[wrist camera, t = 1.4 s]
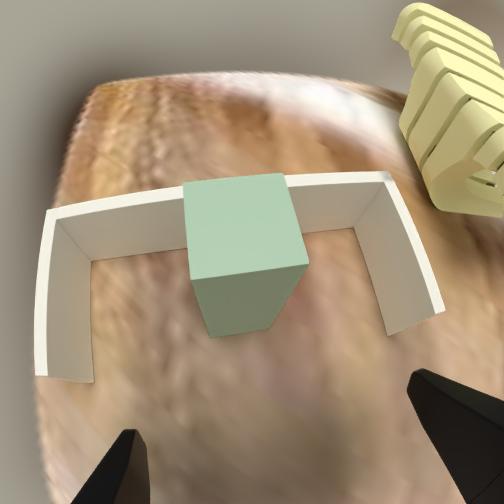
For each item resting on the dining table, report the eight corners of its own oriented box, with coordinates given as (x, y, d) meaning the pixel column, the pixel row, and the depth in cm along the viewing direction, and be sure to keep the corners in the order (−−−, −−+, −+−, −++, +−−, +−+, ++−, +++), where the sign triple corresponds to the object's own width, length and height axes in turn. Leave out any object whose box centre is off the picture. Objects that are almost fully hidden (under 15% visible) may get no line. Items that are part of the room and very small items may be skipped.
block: (268, 329, 23) (309, 263, 12) (210, 338, 22) (190, 280, 11) (258, 275, 25) (283, 172, 13) (202, 282, 24) (182, 182, 13)
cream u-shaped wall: (396, 333, 23) (445, 310, 17) (83, 383, 19) (35, 375, 13) (359, 217, 28) (389, 171, 22) (82, 252, 24) (47, 209, 18)
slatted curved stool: (369, 92, 39) (406, -5, 23) (446, 113, 40) (489, 36, 24) (441, 281, 26) (571, 174, 10) (520, 274, 27) (613, 203, 11)
